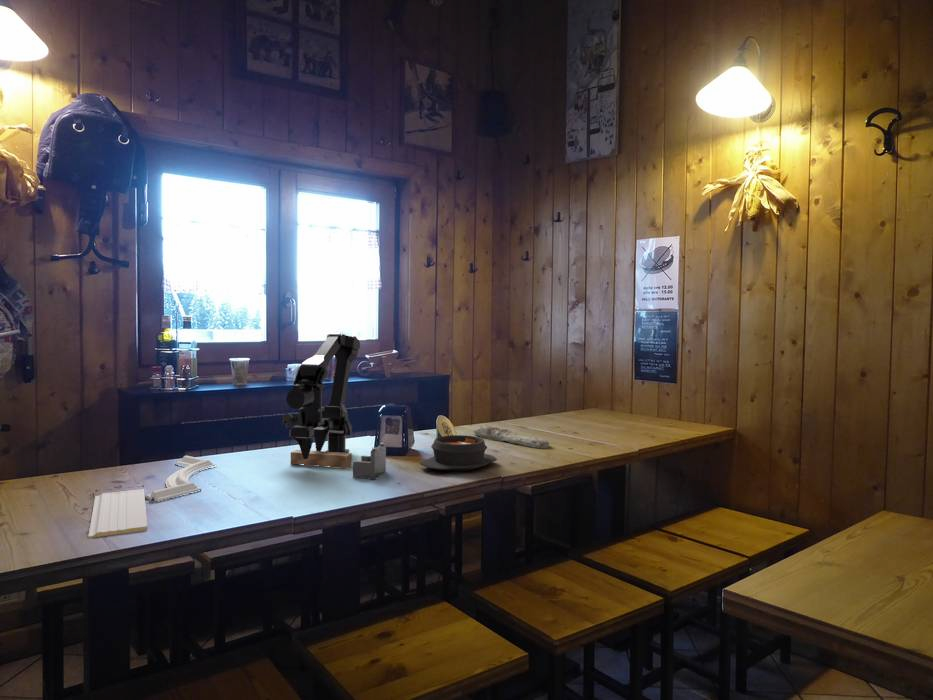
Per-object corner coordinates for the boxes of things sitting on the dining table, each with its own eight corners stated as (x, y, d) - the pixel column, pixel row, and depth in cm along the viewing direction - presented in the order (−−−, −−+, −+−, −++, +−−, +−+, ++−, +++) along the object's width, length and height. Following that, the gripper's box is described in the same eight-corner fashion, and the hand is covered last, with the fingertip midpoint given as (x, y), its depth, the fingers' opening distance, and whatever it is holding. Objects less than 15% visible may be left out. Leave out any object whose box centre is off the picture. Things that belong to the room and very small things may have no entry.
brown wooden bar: (290, 465, 189) (290, 452, 189) (296, 462, 193) (296, 449, 193) (346, 469, 185) (346, 456, 185) (351, 466, 189) (351, 453, 189)
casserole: (471, 456, 205) (472, 430, 204) (510, 467, 190) (510, 440, 190) (407, 466, 189) (407, 439, 189) (443, 479, 174) (444, 449, 174)
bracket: (363, 470, 183) (363, 440, 183) (386, 471, 182) (386, 442, 182) (351, 478, 174) (351, 447, 173) (374, 480, 172) (375, 449, 172)
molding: (177, 464, 189) (177, 455, 189) (220, 462, 192) (219, 453, 192) (140, 505, 148) (140, 493, 148) (195, 502, 151) (195, 490, 151)
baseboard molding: (79, 542, 124) (147, 533, 130) (79, 527, 124) (147, 519, 130) (88, 500, 151) (144, 495, 157) (88, 488, 151) (144, 483, 157)
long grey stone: (537, 455, 215) (555, 452, 222) (539, 439, 215) (556, 437, 222) (465, 434, 240) (483, 433, 247) (467, 421, 239) (484, 419, 247)
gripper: (300, 399, 199) (300, 447, 200) (272, 407, 181) (272, 460, 182) (334, 400, 197) (333, 449, 198) (308, 409, 179) (308, 463, 180)
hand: (312, 455), depth 189 cm, fingers open, 9 cm apart
